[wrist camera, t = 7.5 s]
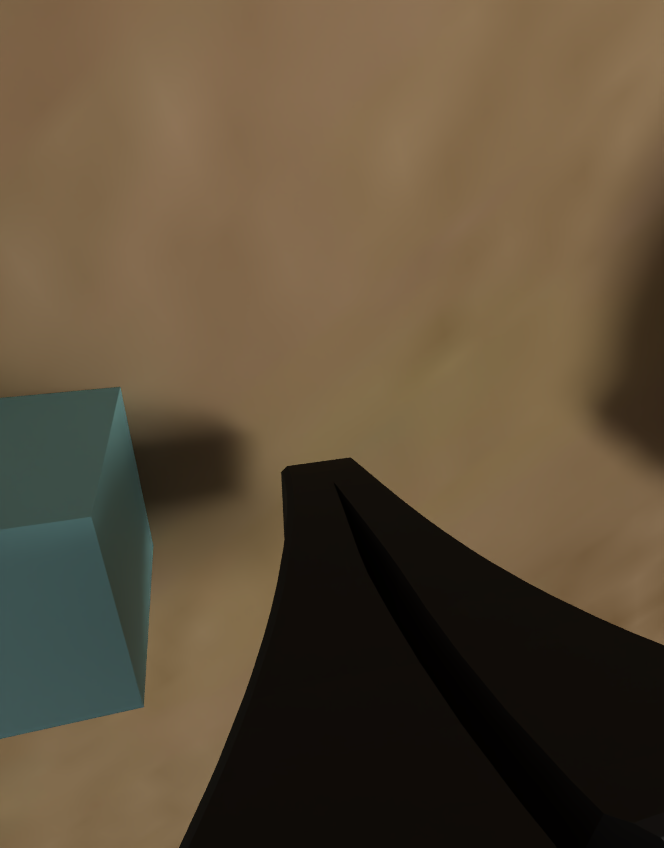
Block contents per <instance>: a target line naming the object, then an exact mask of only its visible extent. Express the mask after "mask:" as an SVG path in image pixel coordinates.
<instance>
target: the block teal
mask: <svg viewBox="0 0 664 848" xmlns="http://www.w3.org/2000/svg"><path fill="white" fill-rule="evenodd" d="M152 559H153V542H152V537H151V532H150V527H149V523H148V518H147V513H146V508H145V503H144V499H143V494H142V489H141V484H140V479H139V475H138V470H137V465H136V460H135V455H134V451H133V446H132V441H131V436H130V431H129V427H128V422H127V417H126V412H125V407H124V403H123V398H122V393H121V388H120V387H114V388H104V389H93V390H82V391H71V392H60V393H49V394H38V395H27V396H17V397H6V398H0V739H2V738H6V737H11V736H15V735H20V734H24V733H29V732H33V731H38V730H42V729H47V728H51V727H56V726H60V725H65V724H70V723H74V722H79V721H83V720H88V719H92V718H97V717H101V716H106V715H110V714H115V713H119V712H124V711H128V710H133V709H137V708H142V707H144V693H145V676H146V659H147V643H148V626H149V609H150V593H151V576H152Z"/></svg>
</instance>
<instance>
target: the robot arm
mask: <svg viewBox="0 0 664 848" xmlns="http://www.w3.org/2000/svg"><path fill="white" fill-rule="evenodd" d="M281 477H282V497H283V518H284V538H285V540H284V548H283V554H282V559H281V565H280V571H279V576H278V582H277V587H276V591H275V595H274V600H273V604H272V608H271V612H270V615H269V619H268V623H267V627H266V630H265V634H264V637H263V640H262V643H261V647H260V650H259V653H258V656H257V659H256V662H255V666H254V669H253V672H252V675H251V678H250V681H249V684H248V686H247V689H246V692H245V695H244V698H243V700H242V703H241V705H240V708H239V710H238V713H237V715H236V718H235V720H234V723H233V726H232V728H231V731H230V733H229V736H228V738H227V741H226V743H225V746H224V748H223V751H222V753H221V756H220V758H219V761H218V763H217V766H216V768H215V770H214V773H213V775H212V777H211V780H210V782H209V784H208V786H207V788H206V791H205V793H204V795H203V797H202V799H201V801H200V804H199V806H198V808H197V810H196V812H195V814H194V817H193V819H192V821H191V823H190V825H189V827H188V830H187V832H186V834H185V836H184V838H183V840H182V842H181V845H180V847H179V848H664V645H662V644H659V643H657V642H654V641H652V640H649V639H647V638H644V637H642V636H639V635H637V634H634V633H632V632H629V631H627V630H625V629H623V628H620V627H618V626H616V625H613V624H611V623H609V622H607V621H604V620H602V619H600V618H598V617H595V616H593V615H591V614H589V613H587V612H585V611H583V610H581V609H579V608H577V607H575V606H572V605H570V604H568V603H566V602H564V601H562V600H560V599H558V598H556V597H554V596H552V595H550V594H548V593H546V592H544V591H542V590H540V589H538V588H536V587H534V586H533V585H531V584H529V583H527V582H525V581H523V580H522V579H520V578H518V577H516V576H515V575H513V574H511V573H509V572H508V571H506V570H504V569H502V568H501V567H499V566H497V565H495V564H494V563H492V562H490V561H489V560H487V559H485V558H484V557H482V556H481V555H479V554H477V553H476V552H474V551H473V550H471V549H470V548H468V547H467V546H465V545H464V544H462V543H461V542H459V541H458V540H456V539H455V538H453V537H452V536H450V535H449V534H447V533H446V532H444V531H443V530H441V529H440V528H439V527H437V526H436V525H435V524H433V523H432V522H430V521H429V520H428V519H426V518H425V517H424V516H422V515H421V514H420V513H418V512H417V511H416V510H414V509H413V508H412V507H410V506H409V505H408V504H407V503H405V502H404V501H403V500H401V499H400V498H399V497H398V496H397V495H395V494H394V493H393V492H392V491H390V490H389V489H388V488H387V487H386V486H384V485H383V484H382V483H381V482H379V481H378V480H377V479H376V478H375V477H373V476H372V475H371V474H370V473H369V472H368V471H366V470H365V469H364V468H363V467H362V466H360V465H359V464H358V463H357V462H355V461H354V460H353V459H352V458H351V457H350V458H343V459H336V460H329V461H321V462H314V463H307V464H299V465H292V466H287V467H286V468H285V469H284V470H283V471H282V472H281Z"/></svg>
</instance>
